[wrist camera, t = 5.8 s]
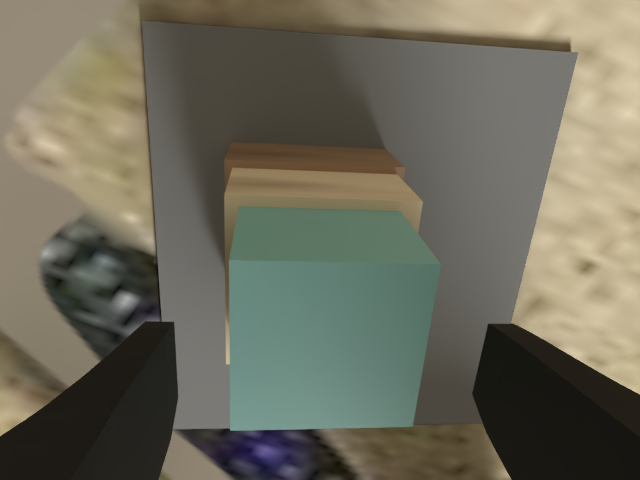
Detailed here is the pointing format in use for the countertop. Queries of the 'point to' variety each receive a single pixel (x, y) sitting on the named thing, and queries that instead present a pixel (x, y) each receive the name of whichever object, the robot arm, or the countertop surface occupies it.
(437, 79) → the mat
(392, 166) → the tower base
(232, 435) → the countertop surface
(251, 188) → the tower mid
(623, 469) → the robot arm
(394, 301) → the teal block
